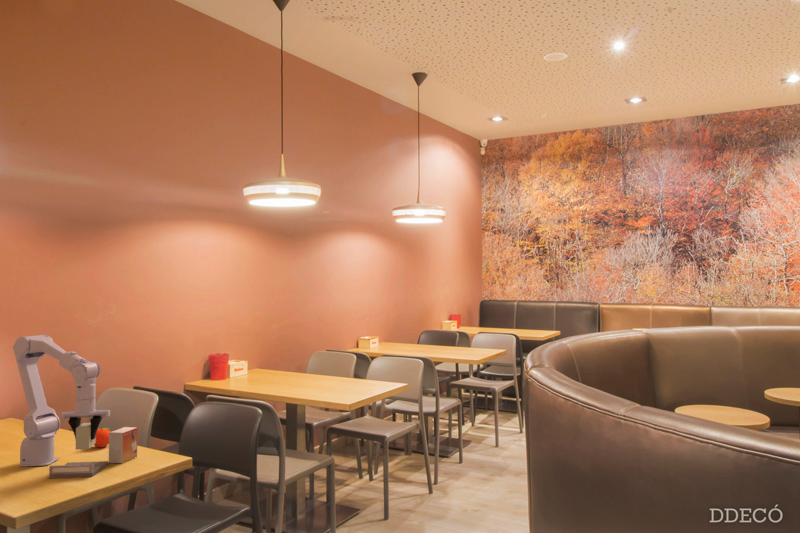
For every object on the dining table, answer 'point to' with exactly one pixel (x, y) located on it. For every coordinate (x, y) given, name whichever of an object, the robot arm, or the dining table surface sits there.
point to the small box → (123, 444)
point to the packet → (84, 436)
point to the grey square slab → (76, 469)
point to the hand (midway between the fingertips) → (85, 439)
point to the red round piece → (102, 437)
